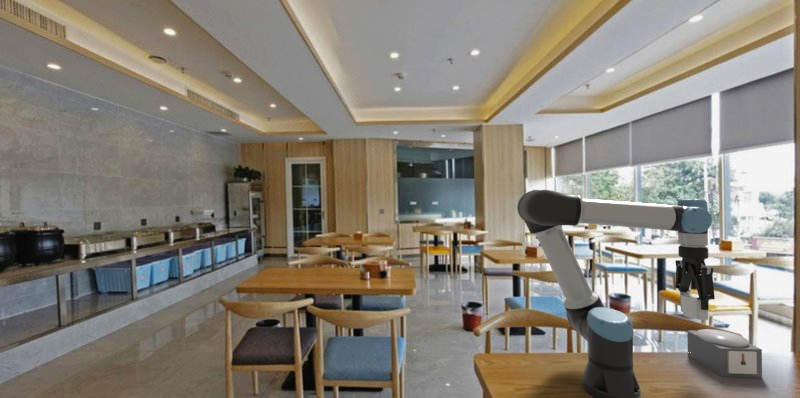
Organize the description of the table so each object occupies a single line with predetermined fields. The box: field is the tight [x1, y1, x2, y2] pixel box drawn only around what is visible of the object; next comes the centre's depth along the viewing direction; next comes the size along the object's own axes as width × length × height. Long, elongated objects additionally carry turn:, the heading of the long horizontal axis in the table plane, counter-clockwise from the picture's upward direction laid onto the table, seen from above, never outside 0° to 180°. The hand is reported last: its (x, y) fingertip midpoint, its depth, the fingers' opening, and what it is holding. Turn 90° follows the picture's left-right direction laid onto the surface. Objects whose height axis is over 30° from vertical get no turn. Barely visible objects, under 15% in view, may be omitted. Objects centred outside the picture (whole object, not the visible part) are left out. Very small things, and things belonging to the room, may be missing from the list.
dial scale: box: [686, 328, 763, 379], centre depth 118 cm, size 13×16×10 cm
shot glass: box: [680, 292, 699, 320], centre depth 114 cm, size 7×7×7 cm
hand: (694, 315), depth 114 cm, fingers closed on shot glass, 7 cm apart
